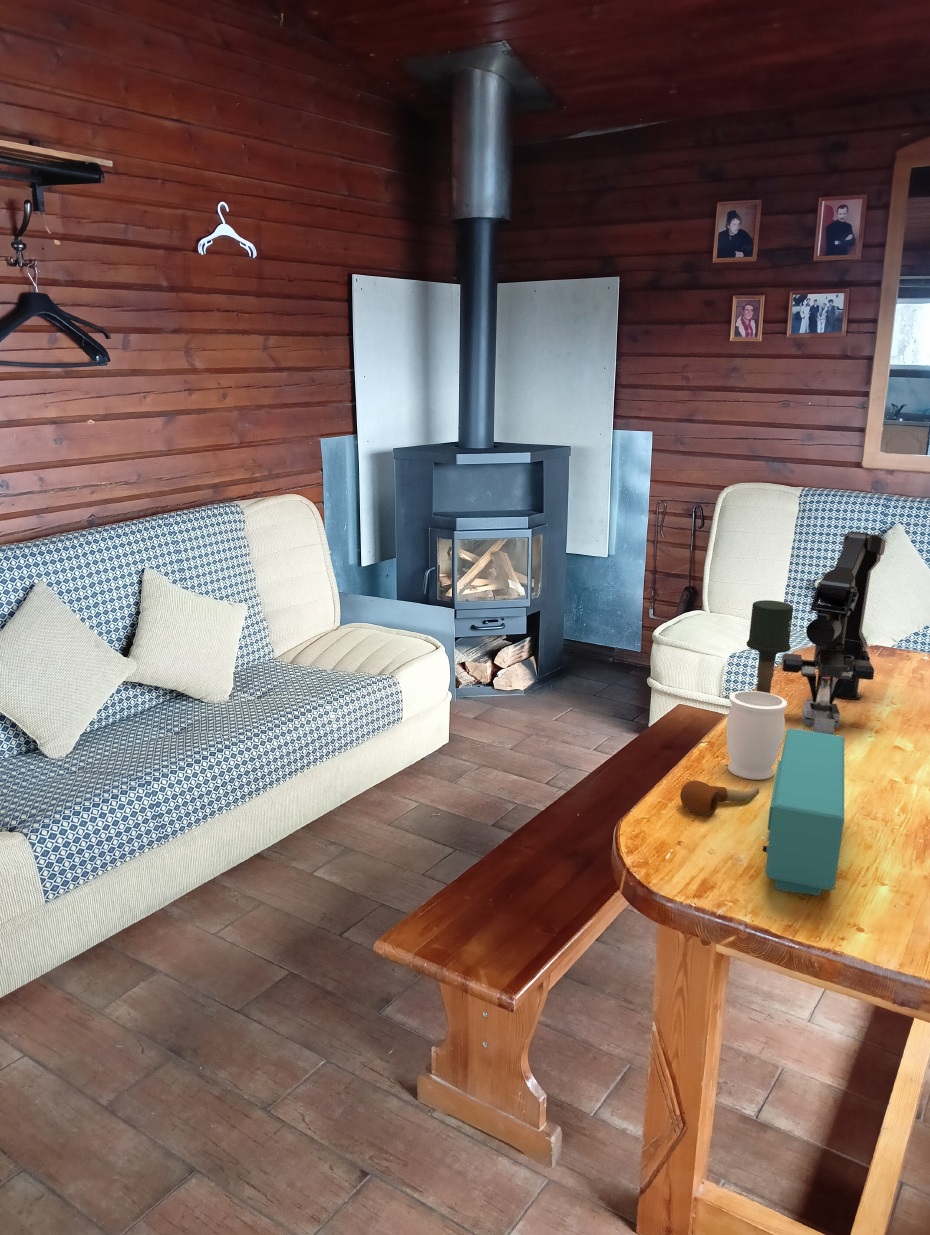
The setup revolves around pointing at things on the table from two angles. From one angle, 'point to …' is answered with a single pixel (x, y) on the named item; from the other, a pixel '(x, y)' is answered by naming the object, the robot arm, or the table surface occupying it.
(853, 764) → the table surface
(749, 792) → the smoking pipe
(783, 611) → the potato masher grenade
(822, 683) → the link pin
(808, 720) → the lower strap
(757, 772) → the jar
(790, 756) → the radio
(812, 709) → the strap
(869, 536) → the robot arm
